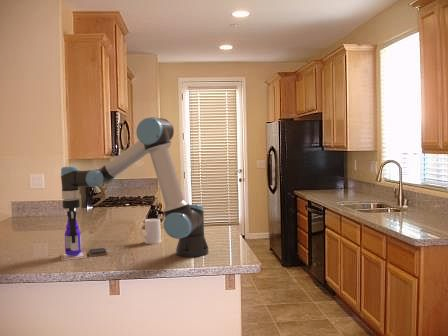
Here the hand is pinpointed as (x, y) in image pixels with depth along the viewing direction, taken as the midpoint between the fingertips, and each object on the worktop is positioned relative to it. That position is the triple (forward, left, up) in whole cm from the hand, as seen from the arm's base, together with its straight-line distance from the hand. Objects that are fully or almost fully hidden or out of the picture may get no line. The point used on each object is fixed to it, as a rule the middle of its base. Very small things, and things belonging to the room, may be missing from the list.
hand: (73, 248), depth 214 cm
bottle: (0, 0, -3) cm, 3 cm away
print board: (0, 0, -4) cm, 4 cm away
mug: (+12, -39, -4) cm, 41 cm away
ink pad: (0, -11, -4) cm, 12 cm away
